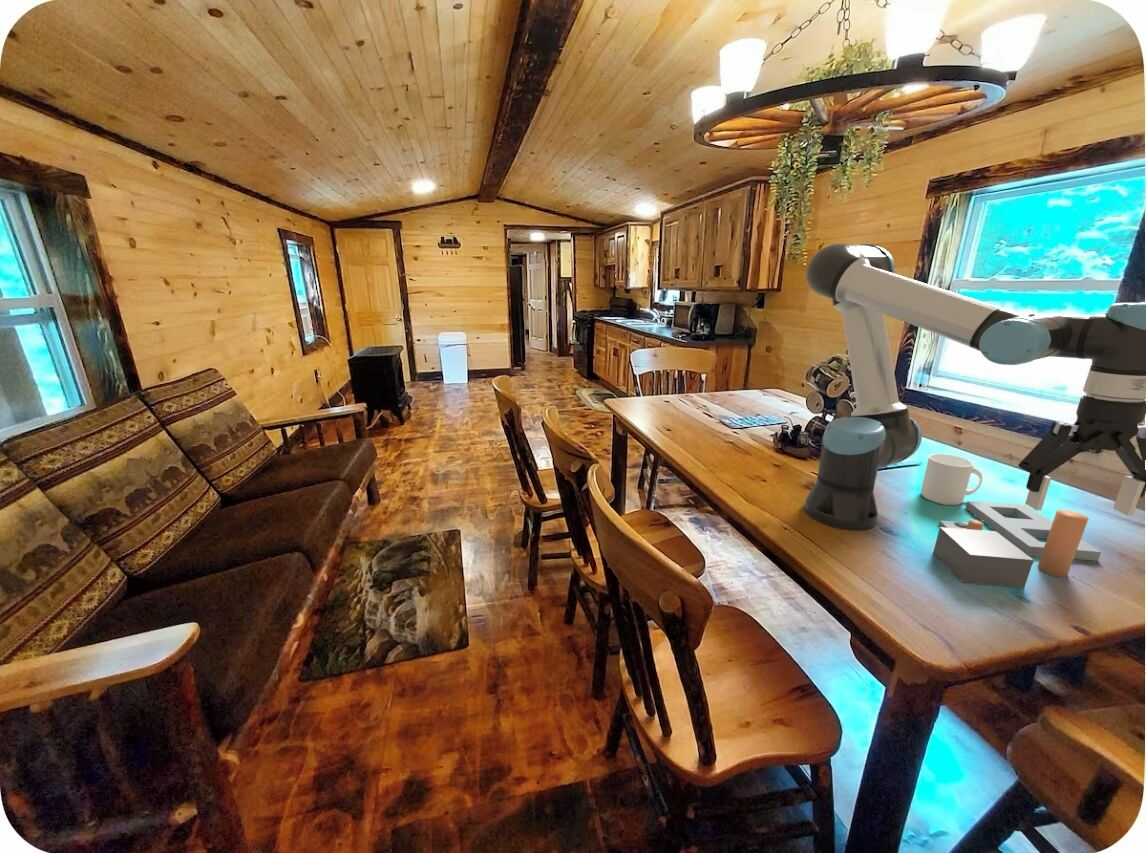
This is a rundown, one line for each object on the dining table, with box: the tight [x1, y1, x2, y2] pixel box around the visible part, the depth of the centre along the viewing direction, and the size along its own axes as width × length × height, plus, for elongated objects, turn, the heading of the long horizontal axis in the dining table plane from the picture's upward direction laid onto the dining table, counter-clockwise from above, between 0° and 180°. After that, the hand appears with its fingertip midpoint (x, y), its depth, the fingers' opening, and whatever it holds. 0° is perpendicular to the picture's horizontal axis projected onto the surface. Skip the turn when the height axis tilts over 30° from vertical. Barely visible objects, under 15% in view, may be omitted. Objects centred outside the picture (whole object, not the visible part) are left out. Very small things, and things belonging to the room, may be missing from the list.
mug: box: [920, 453, 983, 506], centre depth 112 cm, size 9×12×11 cm
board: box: [938, 519, 984, 530], centre depth 97 cm, size 7×7×4 cm
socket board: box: [965, 500, 1102, 562], centre depth 98 cm, size 12×20×2 cm, turn 168°
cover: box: [933, 526, 1035, 589], centre depth 85 cm, size 10×10×6 cm
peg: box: [1037, 509, 1089, 578], centre depth 83 cm, size 4×4×12 cm
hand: (1076, 509), depth 81 cm, fingers open, 13 cm apart
